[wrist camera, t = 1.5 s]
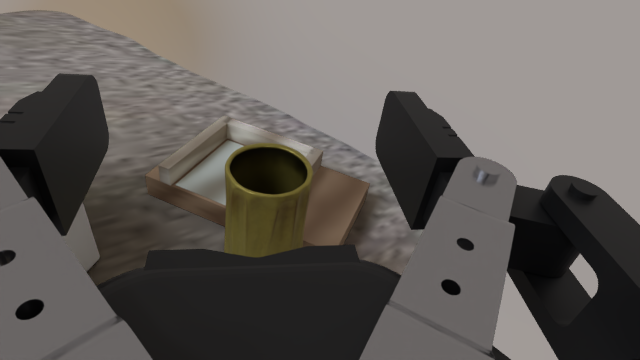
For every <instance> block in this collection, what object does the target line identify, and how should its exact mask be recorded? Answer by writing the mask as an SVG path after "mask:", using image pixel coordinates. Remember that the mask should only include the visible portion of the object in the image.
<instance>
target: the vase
mask: <svg viewBox="0 0 640 360" xmlns="http://www.w3.org/2000/svg"><path fill="white" fill-rule="evenodd" d="M313 175H314V174H313V169H312V166H311V164H310V162H309V161H308V160H307V158H306V157H305V156H304V155H302V154H301V153H300V152H298V151H297V150H295V149H293V148H290V147H288V146H285V145H281V144H274V143H257V144H251V145H247V146H244V147H241V148H239V149H237V150H236V151H234V152H233V153H232V154H231V155H230V157H229V158H228V160H227V161H226V164H225V186H226V220H225V247H224V253H230V254H236V255H242V256H248V257H264V256H268V255H272V254H276V253H281V252H285V251H289V250H293V249H297V248H302V247H303V236H304V228H305V220H306V214H307V209H308V203H309V197H310V190H311V185H312V180H313Z"/></svg>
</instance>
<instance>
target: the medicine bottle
mask: <svg viewBox="0 0 640 360" xmlns="http://www.w3.org/2000/svg"><path fill="white" fill-rule="evenodd" d="M62 238H63V239H64V240H65V242H66V243H67V245H68V246H69V248H70V249H71V251H72V252H73V254H74V255H75V256H76V258H77V259H78V261H79V262H80V264H81V265H82V267H83V268H84V269H85V271H86V272H87V271H88V270H89V269H90V268H91V267H92V266H93V265H94V264H95V263H96V262H97V261H98V259H99V258H100V254H99V251H98V248H97V245H96V242H95V239H94V235H93V232H92V229H91V226H90V223H89V219H88V216H87V213H86V210H85V207H84V204H83V202H82V204H81V206H80V208H79V210H78V212H77V214H76V217H75V219H74V221H73V223H72V225H71V227H70V229H69V231H68V233H67V235H66V236H62Z"/></svg>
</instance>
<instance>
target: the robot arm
mask: <svg viewBox="0 0 640 360" xmlns="http://www.w3.org/2000/svg"><path fill="white" fill-rule="evenodd" d="M108 144H109V133H108V127H107V123H106V118H105V114H104V109H103V105H102V101H101V96H100V92H99V88H98V84H97V81H96V79H95V78H94V76H92V75H79V74H58V75H57V76H56V77H55V78H54V79H53V80H52V81H51V83H50V84H49V85H48V86H47V87H46V88H45V89H44V90H43V91H42V92H35V93H33V94H31V95H29V96H27V97H25V98H23V99H21V100H19V101H18V102H17V103H16V104H15V105H14V106H13V107H12V108H11V109H10V110H9V111H8V114H5V115H4V116H3V117H2V118H1V119H0V360H511V359H509V358H508V357H507V356H505V355H504V354H503V353H501V352H500V351H499V350H498V349H496V348H495V347H494V346H493V345H492V344H493V338H494V334H495V329H496V323H497V318H498V313H499V307H500V303H501V298H502V292H503V287H504V282H505V277H506V272H508V274H509V276H510V277H511V279H512V281H513V282H514V284H515V286H516V288H517V289H518V291H519V293H520V294H521V296H522V298H523V299H524V301H525V303H526V305H527V306H528V308H529V310H530V312H531V313H532V315H533V317H534V318H535V320H536V322H537V324H538V325H539V327H540V328H541V330H542V332H543V334H544V336H545V337H546V339H547V341H548V342H549V344H550V346H551V348H552V349H553V351H554V353H555V354H556V356H557V358H558V359H559V360H640V225H639V224H638V223H637V222H636V221H635V220H634V219H633V218H632V217H631V216H630V215H629V214H628V213H627V212H626V211H625V210H624V209H622V207H621V206H620V205H619V204H617V203H616V202H615V201H614V200H613V199H612V198H611V197H610V196H609V195H608V194H607V193H606V192H605V191H603V190H602V189H601V188H599V187H597V186H596V185H594V184H592V183H590V182H588V181H586V180H583V179H580V178H577V177H573V176H567V175H559V176H555V177H553V178H552V179H551V181H550V183H549V184H548V186H547V188H546V189H545V191H543V190H538V189H534V188H529V187H524V186H519V185H517V181H516V178H515V176H514V175H513V173H512V172H510V170H508V169H507V168H506V167H504V166H503V165H500V164H499V163H497V162H494V161H492V160H489V159H486V158H480V157H475V156H474V155H473V154H472V153H471V151H470V150H469V149H468V148H467V146H466V145H465V144H464V143H463V141H462V140H461V139H460V138H459V137H457V134H456V133H455V131H454V130H453V129H451V127H450V125H449V124H448V123H447V122H446V120H445V119H444V118H443V117H442V116H440V115H439V114H437V113H436V112H434V111H433V110H431V109H428V108H427V107H426V105H425V104H424V103H423V102H422V100H421V99H420V98H419V96H418V95H417V94H416V93H415V92H401V91H390V92H389V93H388V94H387V96H386V99H385V103H384V107H383V111H382V116H381V120H380V124H379V128H378V132H377V137H376V154H377V157H378V159H379V161H380V164H381V166H382V168H383V170H384V172H385V174H386V177H387V179H388V181H389V183H390V185H391V187H392V189H393V192H394V194H395V196H396V198H397V200H398V202H399V205H400V207H401V209H402V211H403V213H404V215H405V217H406V220H407V222H408V224H409V226H410V228H411V230H418V229H424V231H423V233H422V235H421V237H420V239H419V241H418V243H417V245H416V247H415V249H414V251H413V253H412V255H411V257H410V260H409V262H408V264H407V266H406V268H405V270H404V272H403V274H402V276H401V275H399V274H397V273H396V272H394V271H392V270H390V269H388V268H386V267H383V266H380V265H378V264H375V263H372V262H368V261H364V260H359V258H358V255H357V252H356V248H355V245H327V246H306V247H302V248H297V249H293V250H289V251H285V252H281V253H276V254H272V255H268V256H264V257H248V256H242V255H236V254H230V253H224V252H218V251H212V250H206V249H187V250H152V251H149V253H148V257H147V261H146V265H145V267H143V268H139V269H135V270H132V271H129V272H126V273H123V274H121V275H118V276H116V277H114V278H111V279H109V280H107V281H106V282H104V283H102V284H100V285H98V286H96V285H95V284H94V283H93V281H92V280H91V278H90V277H89V275H88V274H87V272H86V271H85V269H84V268H83V267H82V265H81V264H80V262H79V261H78V259H77V258H76V256H75V255H74V254H73V252H72V251H71V249H70V248H69V246H68V245H67V243H66V242H65V240H64V239H63V238H62V236H66V235H67V233H68V231H69V229H70V227H71V225H72V223H73V221H74V219H75V217H76V214H77V212H78V210H79V208H80V206H81V204H82V202H83V200H84V198H85V196H86V194H87V192H88V189H89V187H90V185H91V183H92V181H93V179H94V177H95V175H96V173H97V171H98V169H99V167H100V165H101V162H102V160H103V158H104V156H105V154H106V152H107V149H108ZM579 254H581V255H582V256H583V257H584V259H585V260H586V261H587V262H588V263H589V265H590V266H591V267H592V268H593V270H594V271H595V273H596V275H597V278H598V290H597V293H596V294H595V296H594V297H593V298H592V299H591V297H590V296H589V295H588V293H587V292H586V291H585V289H584V288H583V287H582V285H581V284H580V283H579V281H578V280H577V279H576V277H575V276H574V275H573V273H572V272H571V271H570V269H569V267H570V266H571V265H572V263H573V262H574V260H575V259H576V258H577V257H578V255H579Z"/></svg>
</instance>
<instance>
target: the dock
mask: <svg viewBox="0 0 640 360" xmlns="http://www.w3.org/2000/svg"><path fill="white" fill-rule="evenodd" d="M257 143H274V144H281V145H285V146H288V147H290V148H293V149H295V150H297V151H298V152H300V153H301V154H302V155H304V156H305V157H306V158H307V160H308V161H309V162H310V164H311V166H312V169H313V174H314V175H313V180H312V185H311V190H310V197H309V203H308V209H307V214H306V220H305V228H304V236H303V247H306V246H327V245H343V244H344V242H345V240H346V238H347V236H348V234H349V232H350V230H351V228H352V226H353V224H354V222H355V220H356V218H357V216H358V214H359V212H360V210H361V208H362V206H363V204H364V202H365V199H366V195H367V192H368V189H369V185H370V184H369V183H367V182H364V181H361V180H358V179H356V178H353V177H350V176H347V175H345V174H342V173H339V172H336V171H334V170H331V169H328V168H326V167H323V166H321V161H322V155H323V151H322V150H319V149H316V148H313V147H311V146H308V145H305V144H302V143H299V142H297V141H294V140H291V139H288V138H285V137H283V136H280V135H277V134H274V133H271V132H269V131H266V130H263V129H260V128H257V127H254V126H252V125H249V124H246V123H243V122H240V121H238V120H235V119H232V118H229V117H226V116H222V117H221V118H220V119H218V120H217V121H216V122H214V123H213V124H212V125H210V126H209V127H208V128H206V129H205V130H204V131H202V132H201V133H200V134H198V135H197V136H196V137H195V138H193V139H192V140H191V141H189V142H188V143H187V144H185V145H184V146H183V147H181V148H180V149H179V150H177V151H176V152H175V153H173V154H172V155H171V156H169V157H168V158H167V159H165V160H164V161H163V162H161V163H160V164H159V165H158V166H156V167H155V168H154V169H152V170H151V171H150V172H148V173H147V174H146V175H145V178H146V184H147V190H148V194H149V195H151V196H154V197H156V198H158V199H161V200H163V201H166V202H168V203H170V204H173V205H175V206H177V207H180V208H182V209H184V210H187V211H189V212H191V213H194V214H196V215H199V216H201V217H203V218H206V219H208V220H210V221H213V222H215V223H217V224H220V225H222V226H224V227H225V220H226V186H225V164H226V161H227V160H228V158H229V157H230V155H231V154H232V153H233V152H234V151H236V150H237V149H239V148H241V147H244V146H247V145H251V144H257Z"/></svg>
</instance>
